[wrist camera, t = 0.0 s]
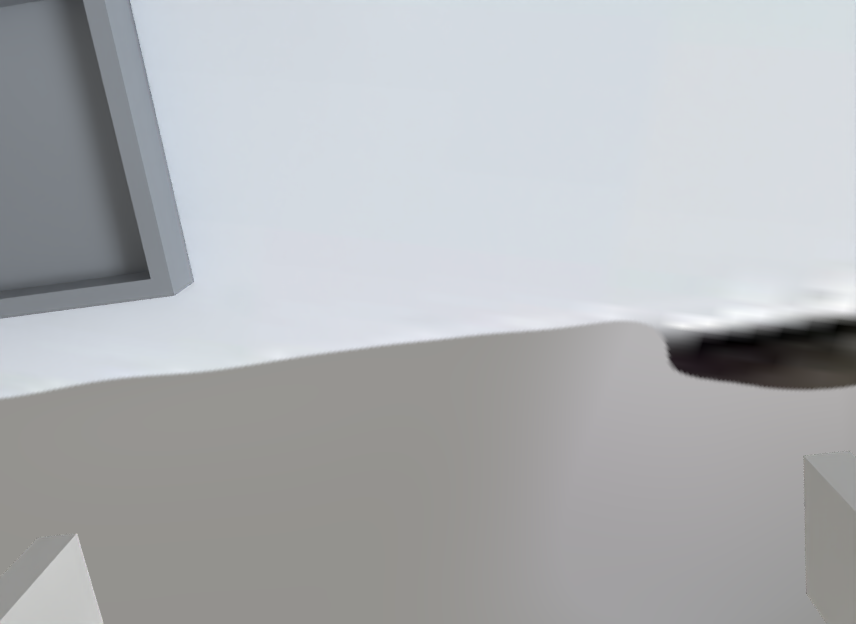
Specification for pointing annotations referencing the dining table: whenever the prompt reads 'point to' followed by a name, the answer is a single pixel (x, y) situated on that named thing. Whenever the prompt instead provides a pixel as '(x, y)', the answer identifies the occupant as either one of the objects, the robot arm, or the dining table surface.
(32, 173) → the tray
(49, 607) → the robot arm
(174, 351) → the dining table surface
